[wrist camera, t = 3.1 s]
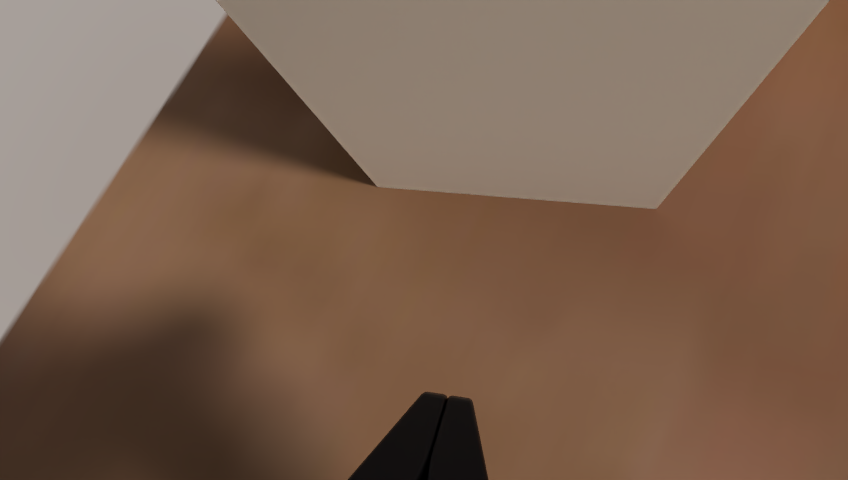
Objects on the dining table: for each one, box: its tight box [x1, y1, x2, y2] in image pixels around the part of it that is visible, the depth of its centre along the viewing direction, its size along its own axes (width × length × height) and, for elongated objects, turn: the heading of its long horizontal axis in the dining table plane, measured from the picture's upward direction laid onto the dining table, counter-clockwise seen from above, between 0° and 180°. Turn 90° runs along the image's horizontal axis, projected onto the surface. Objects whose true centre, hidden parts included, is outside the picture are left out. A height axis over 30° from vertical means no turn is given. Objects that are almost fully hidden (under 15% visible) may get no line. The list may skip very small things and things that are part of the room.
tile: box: [216, 0, 830, 209], centre depth 14 cm, size 4×10×13 cm, turn 82°
